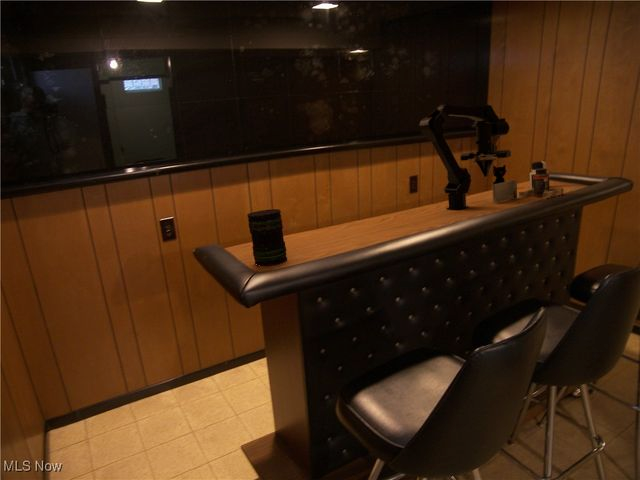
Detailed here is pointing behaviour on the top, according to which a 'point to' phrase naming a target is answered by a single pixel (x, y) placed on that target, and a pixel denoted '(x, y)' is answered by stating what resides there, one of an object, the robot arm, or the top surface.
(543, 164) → the medicine bottle
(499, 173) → the cat figurine
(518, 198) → the pintle plate
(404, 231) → the top surface
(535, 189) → the supplement bottle
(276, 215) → the storage jar
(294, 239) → the top surface
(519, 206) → the top surface
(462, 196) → the robot arm
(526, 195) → the cradle
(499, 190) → the grey flat block
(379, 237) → the top surface
